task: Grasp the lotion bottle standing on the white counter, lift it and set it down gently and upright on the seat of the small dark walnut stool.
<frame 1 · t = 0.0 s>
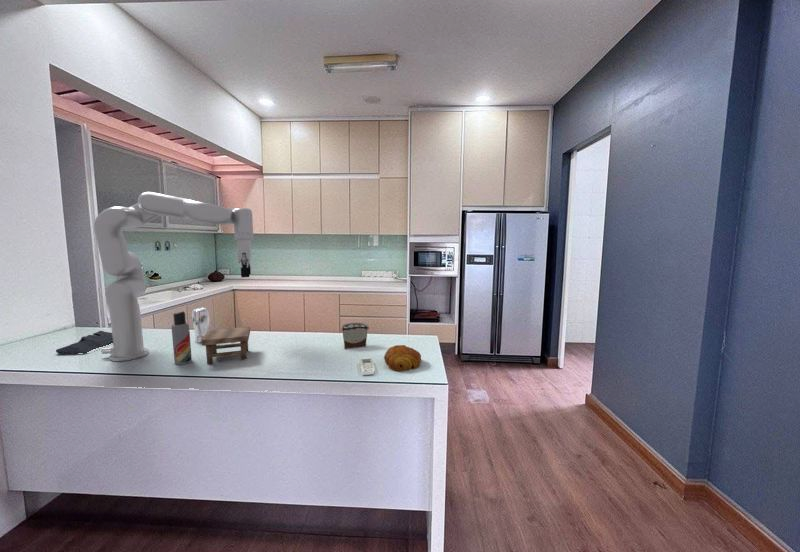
hand: (246, 275, 149), 31 cm above the countertop, tool pointing down, fingers open, 9 cm apart
walnut stool: (228, 356, 137), on the countertop
food container: (354, 346, 151), on the countertop
dark slate chunk: (90, 347, 149), on the countertop
croissant: (402, 364, 131), on the countertop
lotion bottle: (183, 362, 131), on the countertop
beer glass: (202, 341, 157), on the countertop
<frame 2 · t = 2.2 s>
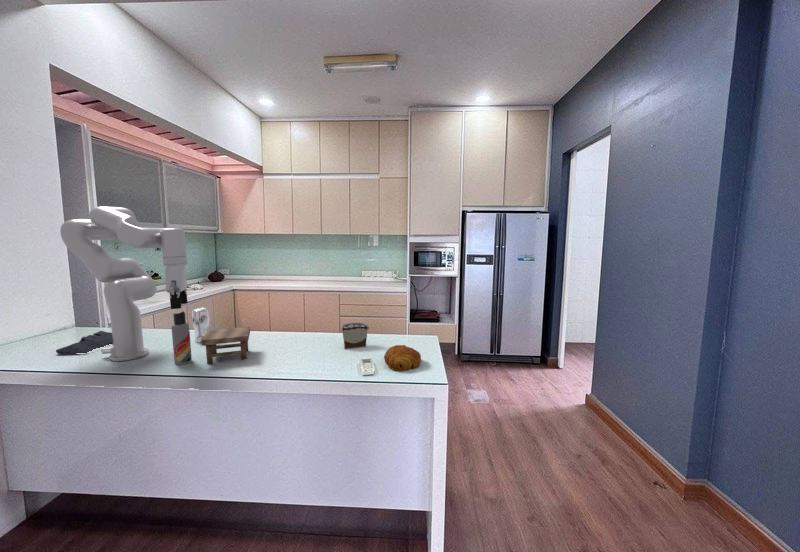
hand: (179, 306, 128), 22 cm above the countertop, tool pointing down, fingers open, 9 cm apart
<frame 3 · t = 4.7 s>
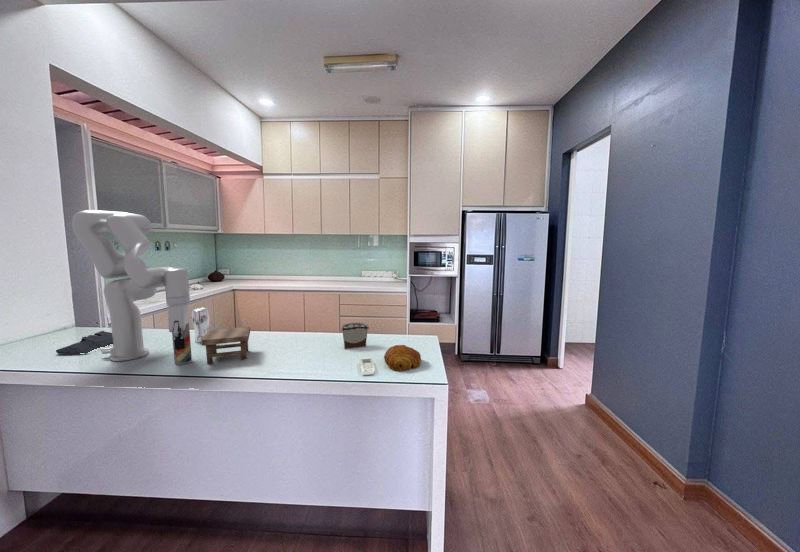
hand: (182, 345, 131), 7 cm above the countertop, tool pointing down, fingers closed on lotion bottle, 5 cm apart
lotion bottle: (183, 362, 131), on the countertop, touching gripper
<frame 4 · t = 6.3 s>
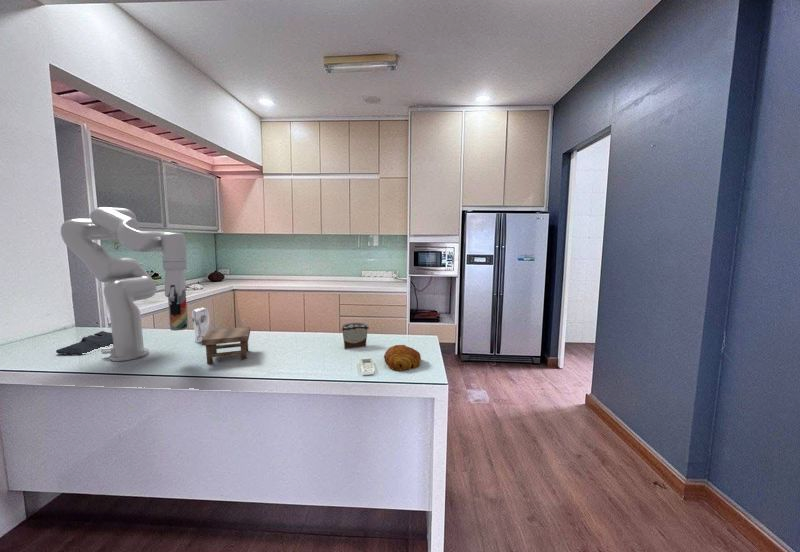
hand: (177, 312, 129), 20 cm above the countertop, tool pointing down, fingers closed on lotion bottle, 5 cm apart
lotion bottle: (179, 329, 130), point 13 cm above the countertop, touching gripper
everything else where it was.
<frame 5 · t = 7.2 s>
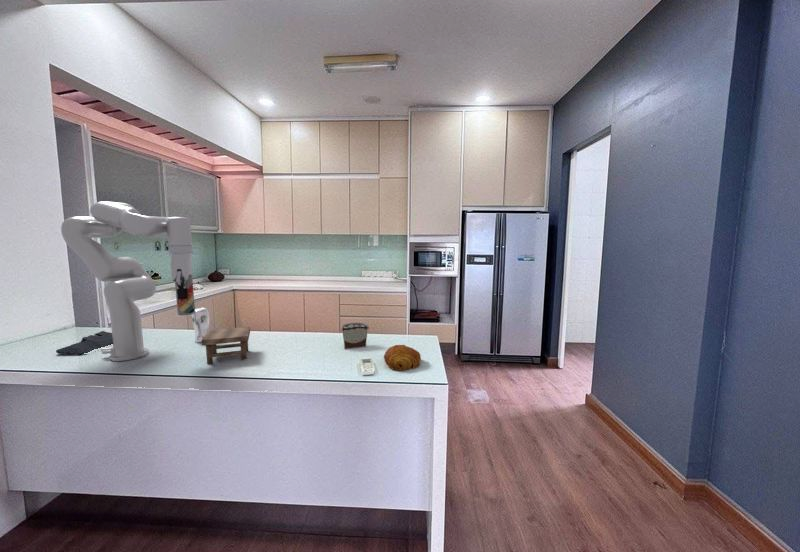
hand: (185, 297, 129), 26 cm above the countertop, tool pointing down, fingers closed on lotion bottle, 5 cm apart
lotion bottle: (186, 314, 130), point 19 cm above the countertop, touching gripper
when the fingers open (18 cm above the countertop, at t = 10.2 s): lotion bottle drops 1 cm, resting on walnut stool.
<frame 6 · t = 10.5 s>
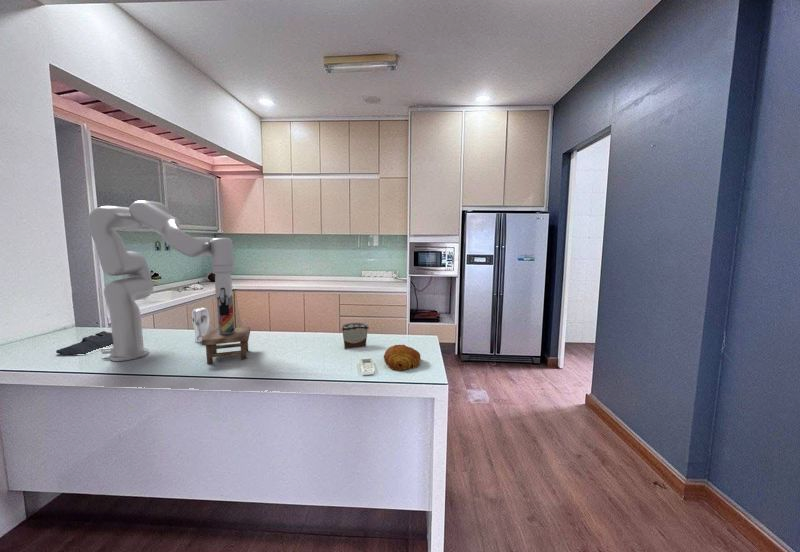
hand: (226, 312, 135), 19 cm above the countertop, tool pointing down, fingers open, 8 cm apart
lotion bottle: (226, 333, 136), point 10 cm above the countertop, touching walnut stool
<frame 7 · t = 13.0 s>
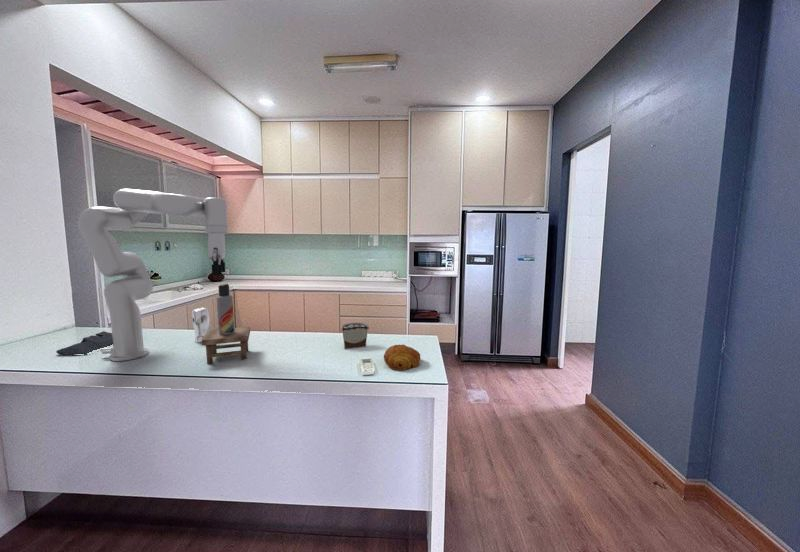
hand: (218, 273, 134), 34 cm above the countertop, tool pointing down, fingers open, 9 cm apart
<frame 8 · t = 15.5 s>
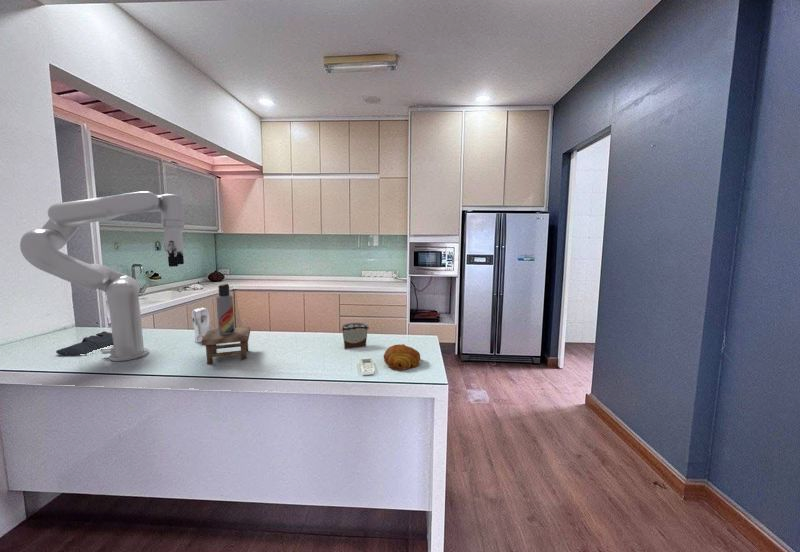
hand: (176, 265, 143), 36 cm above the countertop, tool pointing down, fingers open, 9 cm apart
at the end: lotion bottle inside the target area on the walnut stool (0.2 cm from its centre), point 9.8 cm above the walnut stool's base; lotion bottle tilted 0°; the gripper is holding nothing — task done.
